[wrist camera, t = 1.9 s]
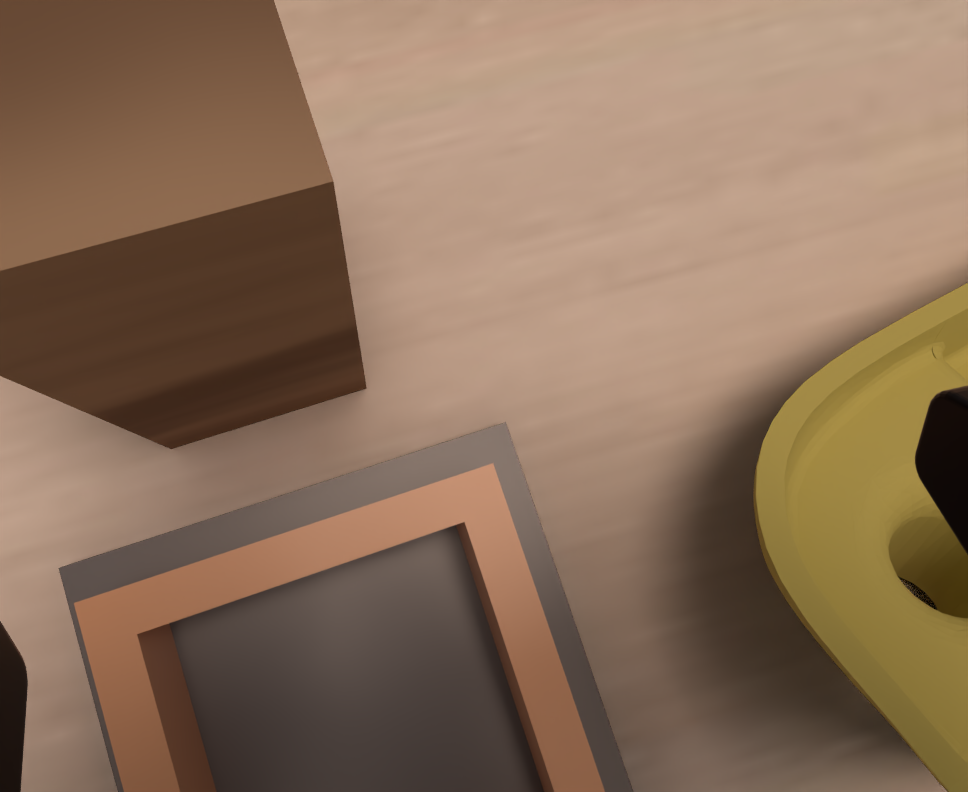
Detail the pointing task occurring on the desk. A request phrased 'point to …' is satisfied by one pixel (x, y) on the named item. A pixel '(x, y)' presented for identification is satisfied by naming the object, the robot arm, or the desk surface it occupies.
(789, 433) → the plastic component
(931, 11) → the desk surface
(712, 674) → the desk surface
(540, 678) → the socket board
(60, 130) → the walnut post
